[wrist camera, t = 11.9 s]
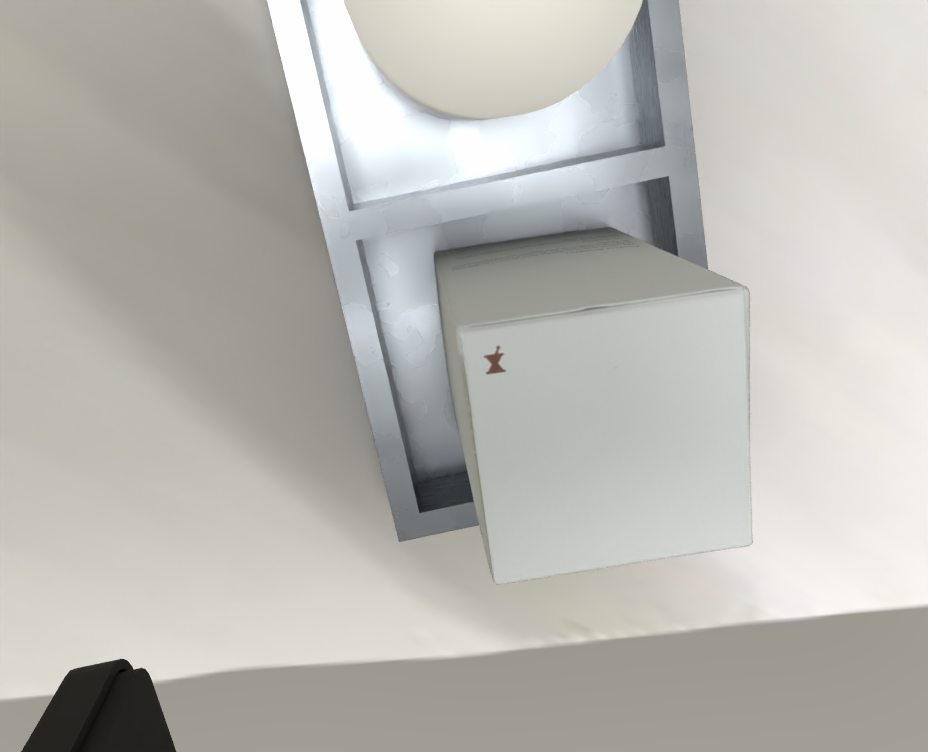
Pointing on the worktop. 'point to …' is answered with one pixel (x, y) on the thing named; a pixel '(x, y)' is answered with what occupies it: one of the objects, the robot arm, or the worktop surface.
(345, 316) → the divided grey tray
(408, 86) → the white rounded cylinder
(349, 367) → the worktop surface
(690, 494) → the supplement box
